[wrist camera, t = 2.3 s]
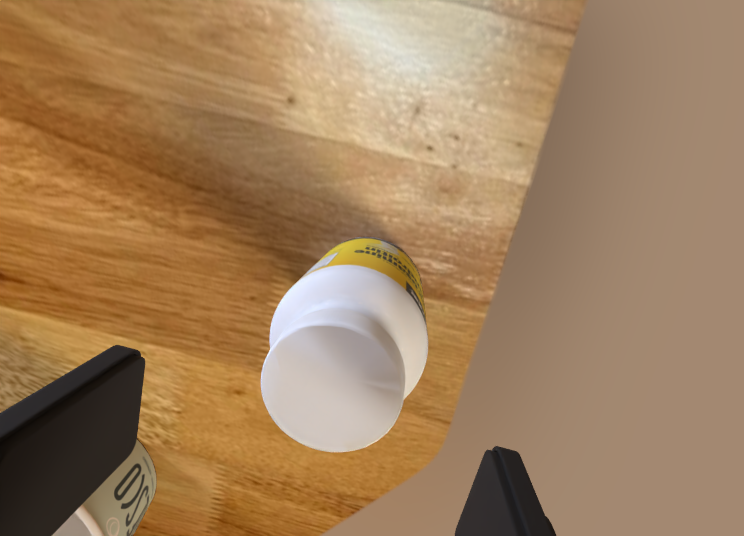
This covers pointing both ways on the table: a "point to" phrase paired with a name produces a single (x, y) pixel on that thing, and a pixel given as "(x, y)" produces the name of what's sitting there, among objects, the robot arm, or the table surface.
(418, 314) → the pill bottle
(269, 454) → the table surface
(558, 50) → the table surface
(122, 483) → the food container
